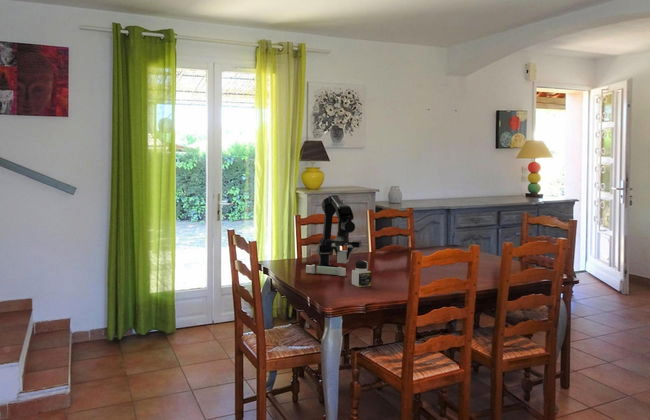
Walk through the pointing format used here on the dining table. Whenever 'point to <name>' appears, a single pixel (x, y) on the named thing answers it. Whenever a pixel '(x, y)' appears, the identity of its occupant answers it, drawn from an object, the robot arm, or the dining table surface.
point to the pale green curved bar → (327, 270)
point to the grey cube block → (342, 256)
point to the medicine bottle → (361, 274)
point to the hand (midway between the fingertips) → (342, 259)
